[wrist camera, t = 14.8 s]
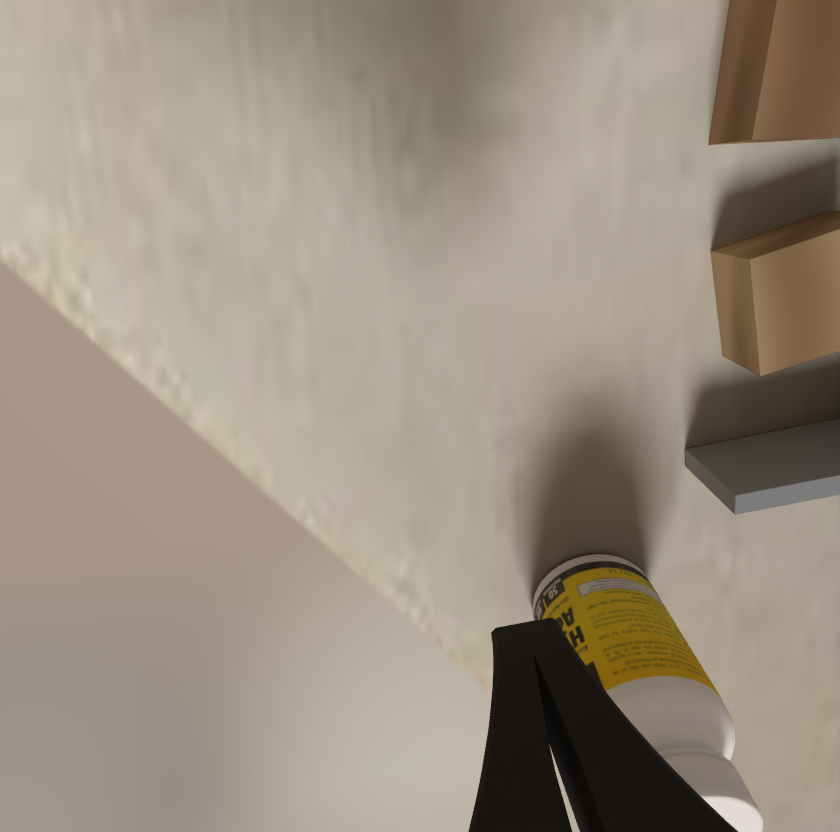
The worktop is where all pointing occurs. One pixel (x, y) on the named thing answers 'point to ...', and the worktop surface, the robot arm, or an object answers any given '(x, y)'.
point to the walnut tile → (778, 72)
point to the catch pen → (771, 467)
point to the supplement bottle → (649, 674)
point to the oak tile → (780, 295)
